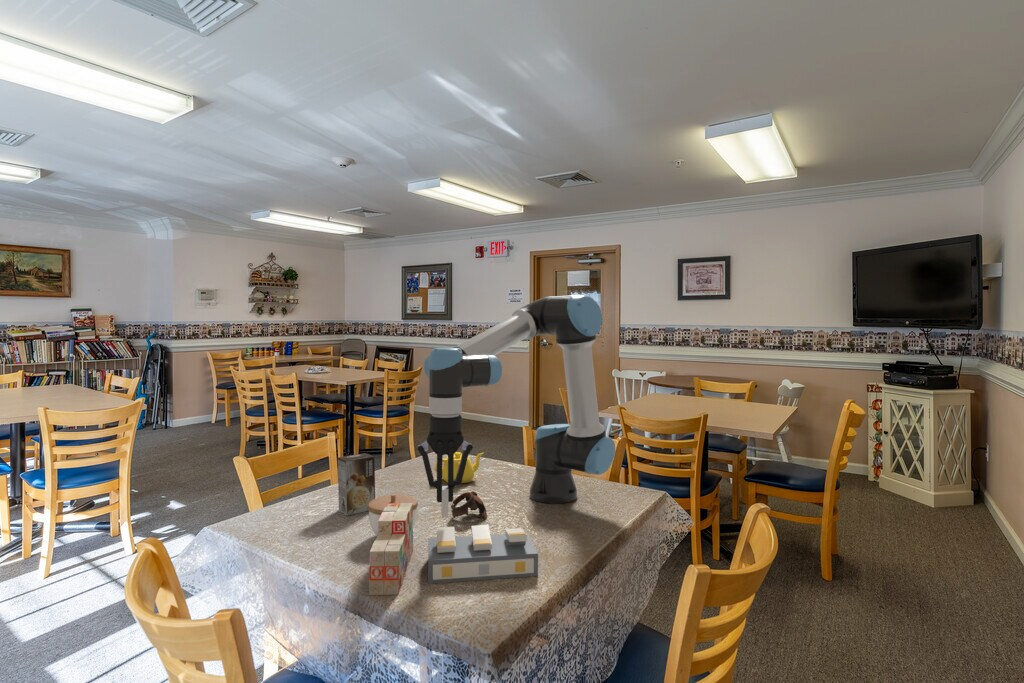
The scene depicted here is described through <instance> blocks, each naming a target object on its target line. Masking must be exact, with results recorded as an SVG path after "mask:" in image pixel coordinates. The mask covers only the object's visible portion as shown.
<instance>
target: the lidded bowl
mask: <svg viewBox="0 0 1024 683" xmlns="http://www.w3.org/2000/svg"><path fill="white" fill-rule="evenodd" d="M388 503H413V529H414V528H415V525H416V522H417V519H418V518H417V517H418V505H419V504H418V503H419V501H418V499H417V498H416V497H414V496H410V495H406V494H395V493H394V494H393V493H392V494H389V495H382V496H378V497H375V499H373V500H372V501H370V502H369V504H368V510H369V511H368V519H369V520H368V521H369V526H370V527H371V531H372V532H373V533H374V535H375V536H376V537H377V536H378V521H379V518H380V517H381V514H382V512H383V510H384V508H385V507H386V505H387V504H388Z"/></svg>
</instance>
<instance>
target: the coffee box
mask: <svg viewBox="0 0 1024 683" xmlns="http://www.w3.org/2000/svg"><path fill="white" fill-rule="evenodd" d="M375 467H376V465H375V456H373V455H371V454H370V453H366V452H363V453H359V454H352V455H351V454H350V455H344V456H340V457H339V456H338V457H337V480H338V482H337V483H338V487H337V488H338V489H337V490H338V491H337V492H338V511H339V512H341V513H342V514H343V515H344V516H346V517H348V515H349V516H351V515H356V514H361V513H364V512H369V510H368V504H369V502H370V501H372V500H373V499H376V471H375V470H376V469H375Z"/></svg>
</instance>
